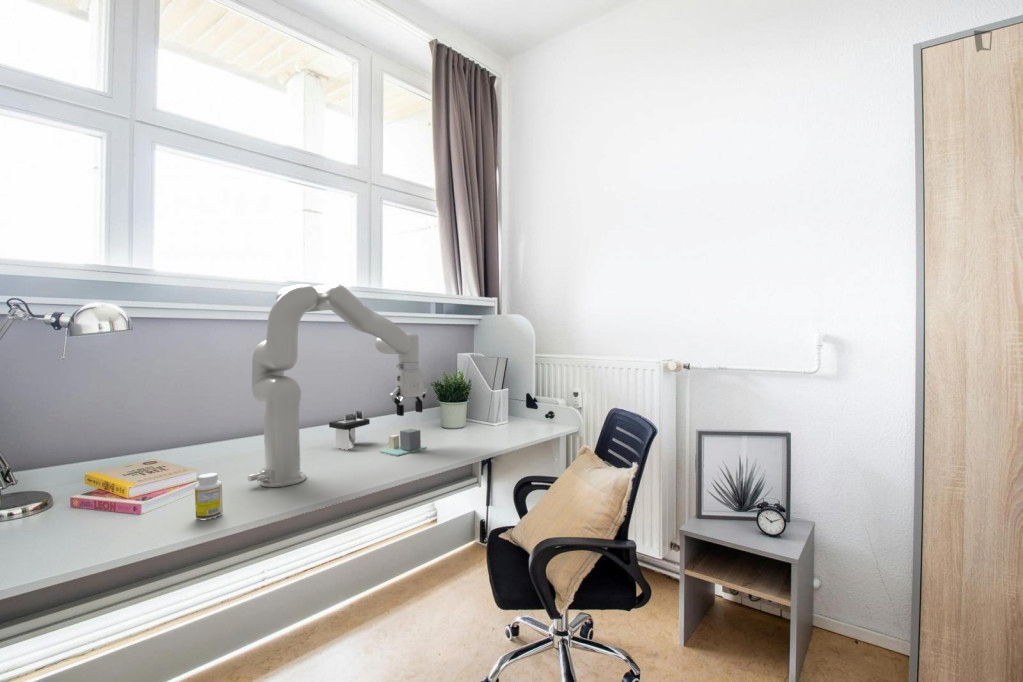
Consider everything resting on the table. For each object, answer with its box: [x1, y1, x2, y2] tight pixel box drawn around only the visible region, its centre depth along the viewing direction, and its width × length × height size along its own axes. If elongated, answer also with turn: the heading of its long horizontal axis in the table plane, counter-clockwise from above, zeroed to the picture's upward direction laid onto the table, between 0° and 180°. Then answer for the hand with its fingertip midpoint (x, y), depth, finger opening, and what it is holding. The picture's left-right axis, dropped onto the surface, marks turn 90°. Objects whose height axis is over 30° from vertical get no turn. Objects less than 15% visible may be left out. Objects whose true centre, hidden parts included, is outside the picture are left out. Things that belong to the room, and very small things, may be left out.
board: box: [379, 434, 428, 457], centre depth 180 cm, size 14×10×5 cm
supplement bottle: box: [194, 472, 224, 520], centre depth 117 cm, size 6×6×10 cm
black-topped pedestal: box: [328, 410, 371, 451], centre depth 188 cm, size 28×26×13 cm
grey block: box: [399, 428, 422, 451], centre depth 179 cm, size 5×5×7 cm
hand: (409, 413), depth 179 cm, fingers open, 8 cm apart
